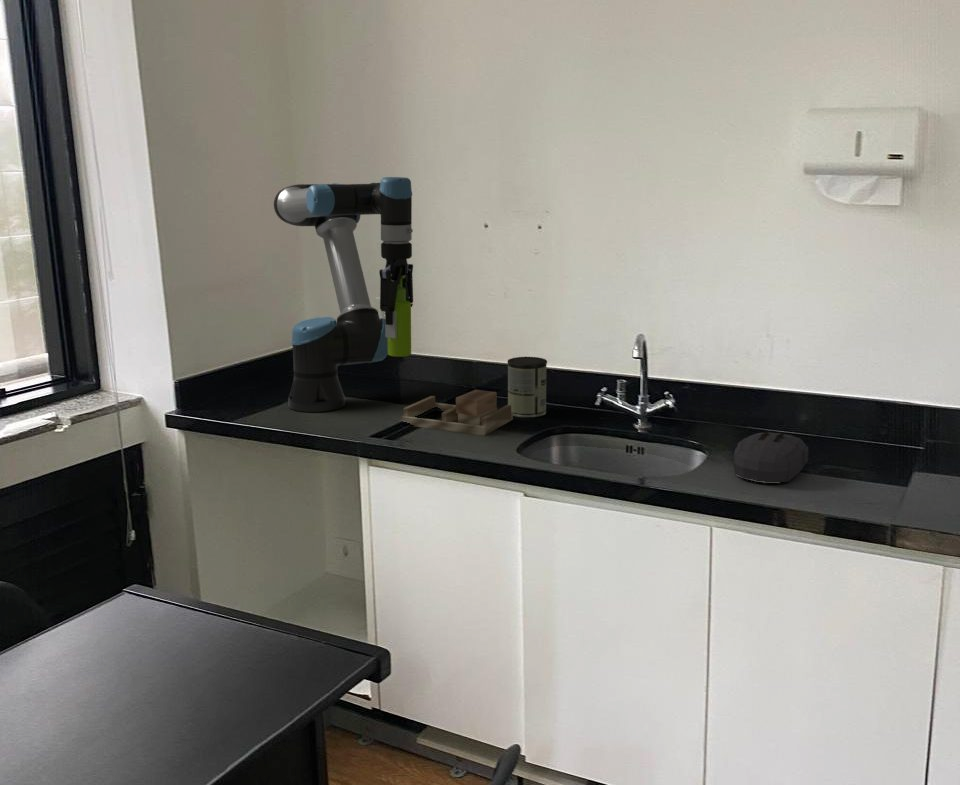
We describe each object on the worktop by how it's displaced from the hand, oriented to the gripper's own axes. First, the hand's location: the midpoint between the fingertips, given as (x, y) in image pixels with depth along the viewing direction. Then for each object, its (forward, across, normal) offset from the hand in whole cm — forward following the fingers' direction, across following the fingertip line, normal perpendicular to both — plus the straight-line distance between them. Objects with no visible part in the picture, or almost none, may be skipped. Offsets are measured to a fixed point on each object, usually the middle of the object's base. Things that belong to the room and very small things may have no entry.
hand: (397, 334), depth 253 cm
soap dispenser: (+5, 0, 0) cm, 5 cm away
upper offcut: (+18, +4, -20) cm, 27 cm away
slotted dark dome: (+21, -7, -93) cm, 95 cm away
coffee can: (+22, +21, -27) cm, 41 cm away
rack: (+22, +5, -14) cm, 27 cm away
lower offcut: (+22, +4, -20) cm, 30 cm away
